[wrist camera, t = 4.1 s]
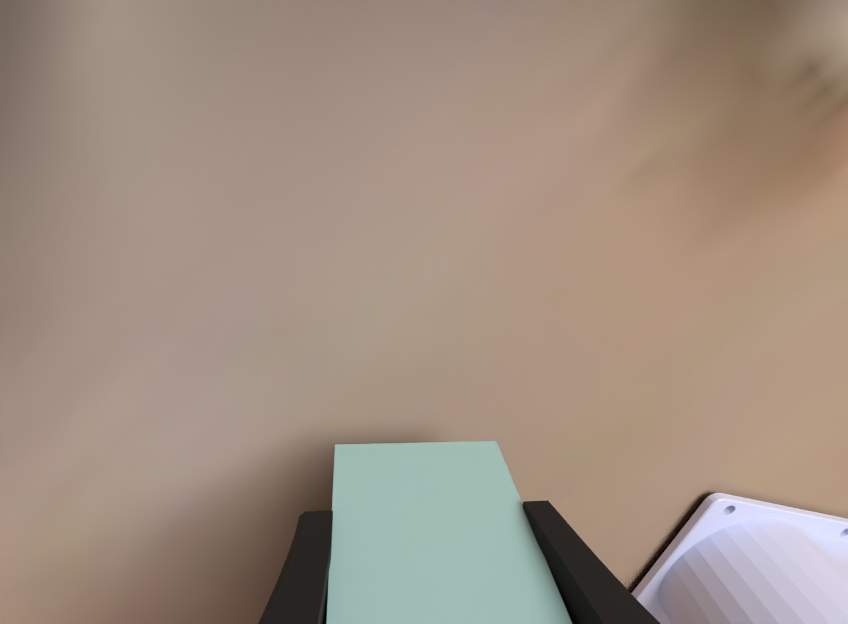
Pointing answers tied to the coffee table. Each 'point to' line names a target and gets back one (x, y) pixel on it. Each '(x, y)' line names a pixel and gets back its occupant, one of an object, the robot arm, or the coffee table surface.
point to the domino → (434, 539)
